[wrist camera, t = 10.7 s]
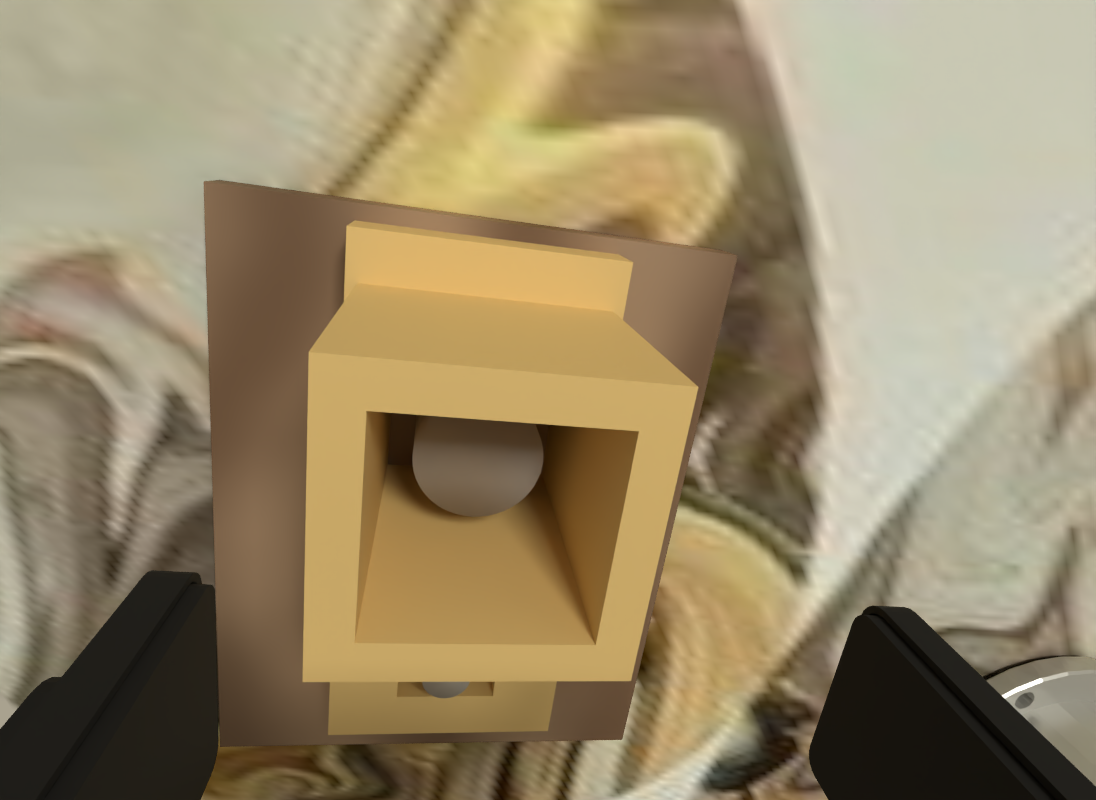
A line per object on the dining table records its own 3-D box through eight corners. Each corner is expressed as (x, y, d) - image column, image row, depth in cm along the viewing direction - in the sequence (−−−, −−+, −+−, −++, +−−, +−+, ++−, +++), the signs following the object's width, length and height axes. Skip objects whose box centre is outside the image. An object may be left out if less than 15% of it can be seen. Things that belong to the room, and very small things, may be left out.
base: (720, 250, 19) (813, 279, 14) (614, 713, 25) (654, 845, 20) (219, 180, 17) (127, 188, 12) (231, 717, 22) (173, 869, 18)
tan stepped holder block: (354, 220, 16) (288, 264, 9) (618, 254, 18) (732, 315, 11) (335, 697, 21) (283, 956, 14) (541, 696, 23) (585, 932, 16)
